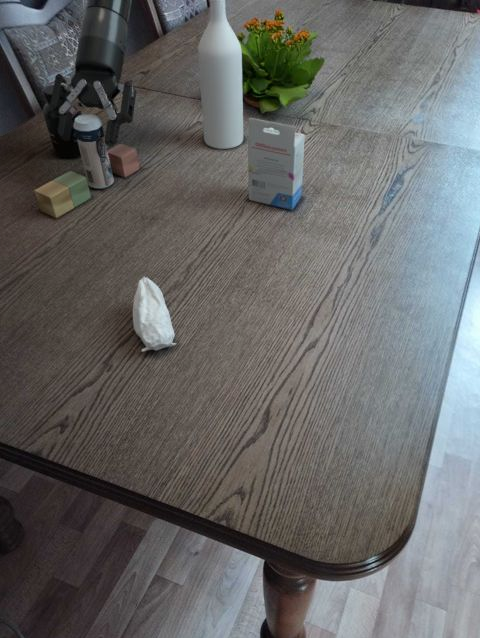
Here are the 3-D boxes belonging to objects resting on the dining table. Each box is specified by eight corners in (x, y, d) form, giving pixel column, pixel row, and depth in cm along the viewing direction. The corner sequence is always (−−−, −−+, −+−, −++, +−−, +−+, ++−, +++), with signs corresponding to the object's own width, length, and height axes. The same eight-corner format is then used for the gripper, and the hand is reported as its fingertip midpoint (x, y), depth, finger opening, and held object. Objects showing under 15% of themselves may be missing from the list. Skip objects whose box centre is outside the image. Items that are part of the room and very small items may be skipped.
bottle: (232, 152, 109) (226, -26, 88) (197, 144, 112) (182, -32, 90) (250, 135, 114) (248, -37, 93) (215, 128, 117) (206, -42, 95)
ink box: (302, 197, 98) (308, 114, 87) (292, 211, 95) (296, 127, 84) (259, 187, 100) (259, 105, 90) (247, 200, 97) (246, 117, 87)
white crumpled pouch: (126, 322, 77) (141, 356, 69) (125, 276, 74) (140, 308, 66) (161, 318, 79) (179, 352, 71) (161, 274, 76) (180, 304, 68)
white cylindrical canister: (115, 188, 100) (102, 123, 91) (88, 192, 99) (72, 126, 90) (113, 175, 103) (100, 111, 94) (87, 179, 102) (71, 114, 93)
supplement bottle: (47, 155, 108) (29, 93, 99) (66, 140, 112) (50, 79, 104) (77, 161, 106) (62, 98, 98) (96, 146, 111) (82, 84, 102)
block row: (40, 211, 94) (33, 190, 91) (124, 163, 106) (120, 143, 103) (56, 218, 93) (50, 197, 90) (139, 169, 105) (136, 149, 102)
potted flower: (193, 111, 122) (186, 24, 110) (229, 74, 138) (226, -7, 125) (302, 127, 117) (308, 37, 105) (326, 86, 133) (334, 3, 120)
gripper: (51, 29, 90) (35, 128, 91) (132, 37, 88) (116, 139, 89) (74, 53, 98) (59, 145, 98) (150, 61, 95) (134, 155, 96)
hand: (86, 142), depth 93 cm, fingers open, 8 cm apart
